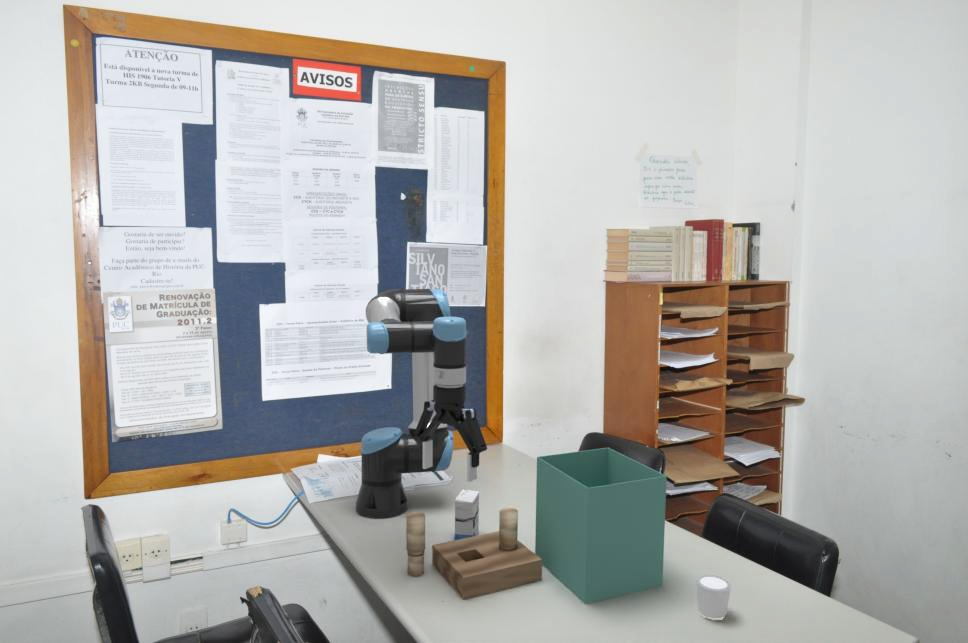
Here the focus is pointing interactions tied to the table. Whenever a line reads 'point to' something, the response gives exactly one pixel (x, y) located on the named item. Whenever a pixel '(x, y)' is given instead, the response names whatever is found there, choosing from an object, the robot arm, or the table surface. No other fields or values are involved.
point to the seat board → (488, 560)
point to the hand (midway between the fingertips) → (449, 473)
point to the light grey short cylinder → (712, 596)
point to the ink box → (466, 514)
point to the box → (600, 522)
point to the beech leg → (415, 543)
